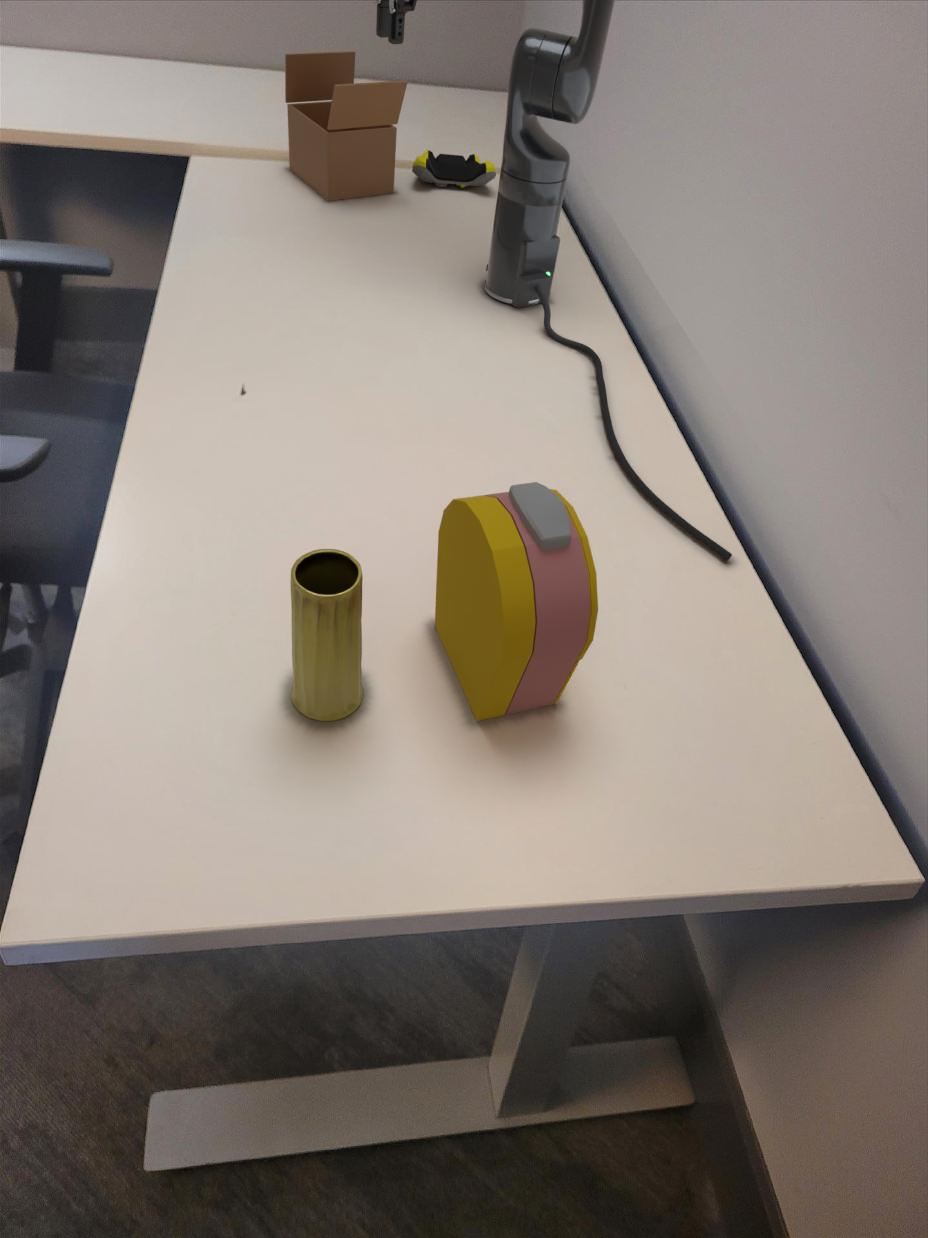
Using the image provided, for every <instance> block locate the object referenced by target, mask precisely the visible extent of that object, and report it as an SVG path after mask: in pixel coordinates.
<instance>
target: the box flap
mask: <svg viewBox="0 0 928 1238" xmlns="http://www.w3.org/2000/svg"><path fill="white" fill-rule="evenodd" d="M407 86H408V81H407V80H392V81H391V80H389V81H373V82H354V84H336V85H334V91H333V97H332V100H331V101H332V103H331V109H330V115H329V121H328V127H327V129H328V130H333V129H345V128H357V127H370V126H382V125H393V126H395V125H398V124H399V119H400V115H401V111H402V107H403V103H404V98H405V94H406V91H407Z"/></svg>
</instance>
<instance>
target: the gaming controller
mask: <svg viewBox="0 0 928 1238" xmlns="http://www.w3.org/2000/svg"><path fill="white" fill-rule="evenodd" d="M411 172H412V173H413V174H414V175H415V176H416V177H417V178H418V179H419V180H421V181H423V182H425V183H433V185H434V186H435V187H439V188H446V187H447V186H448V185H450V184H451V185H456V186H458V187H459V186H460V188H465V187H468V186H471V187H472V186H473V187H480V186H485V185H487V184H488V183H489V182H492V181H493V180H495V178H496V177H497V170H496V167H495V164H494V163H493V162H492V161H489V160H485V161H483V162H481V159H480V157H479V156H478V155H476V154H475V153H471V154H470V155H468V157H467V159H466V158H465V157H464V155H461V154H450V153H449V154H447V153H439V154H437V156H436V157H435V155H434V152H433V151H431V150H429V149H427V150H425V151H424V152H423V153H422V155H417V156H416V158H415V159H414V161H413V162H412V169H411Z"/></svg>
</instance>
